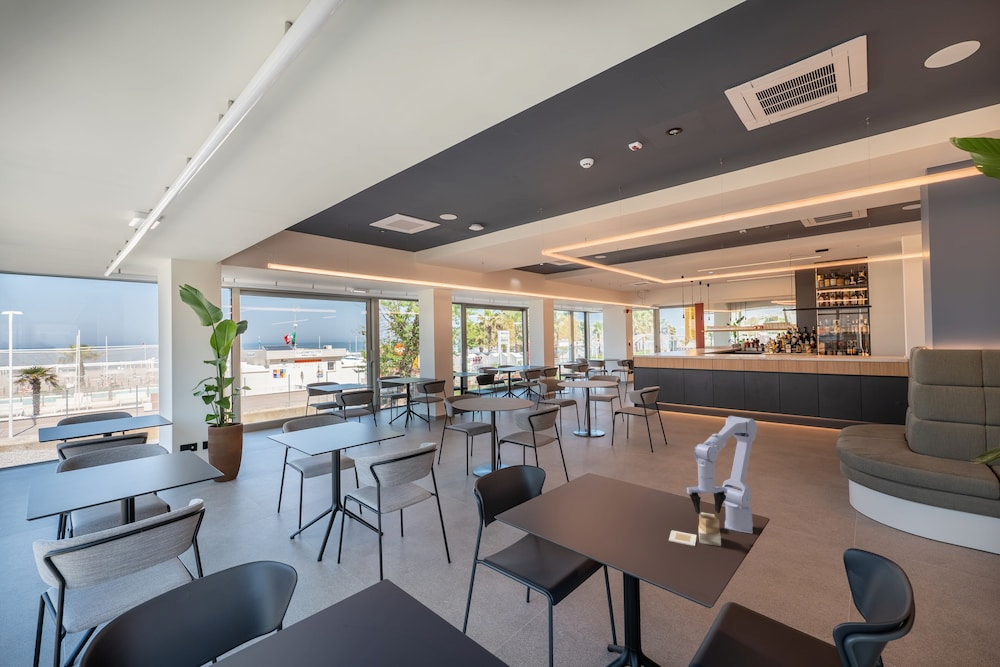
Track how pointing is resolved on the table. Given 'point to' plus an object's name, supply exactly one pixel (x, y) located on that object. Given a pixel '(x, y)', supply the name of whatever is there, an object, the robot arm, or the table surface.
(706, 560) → the table surface
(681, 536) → the card
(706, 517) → the oak cube
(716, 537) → the base block
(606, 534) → the table surface
